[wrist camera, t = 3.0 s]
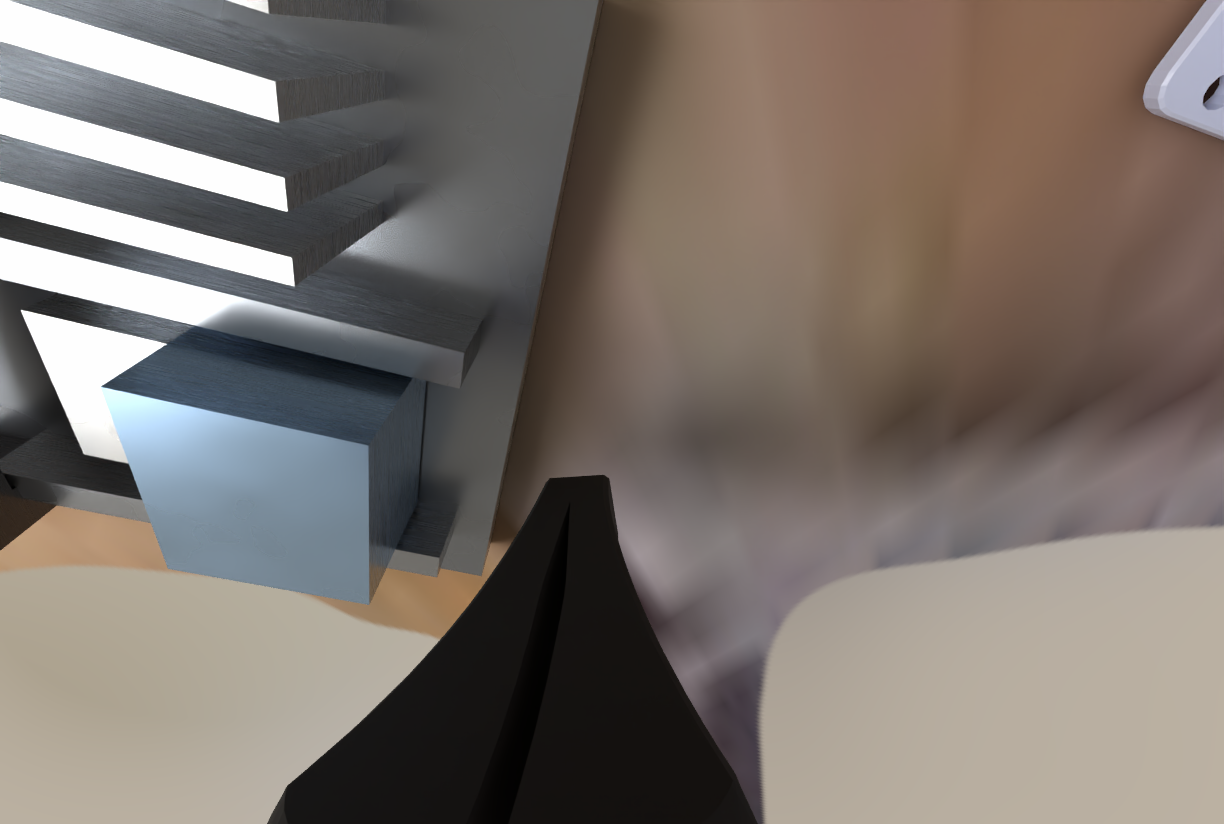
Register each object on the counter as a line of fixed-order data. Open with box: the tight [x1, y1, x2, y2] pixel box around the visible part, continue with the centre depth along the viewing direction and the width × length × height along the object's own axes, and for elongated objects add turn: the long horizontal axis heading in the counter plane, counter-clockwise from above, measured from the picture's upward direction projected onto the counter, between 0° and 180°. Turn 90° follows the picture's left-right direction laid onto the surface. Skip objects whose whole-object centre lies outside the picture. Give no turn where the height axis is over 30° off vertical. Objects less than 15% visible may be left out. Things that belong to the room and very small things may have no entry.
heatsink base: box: [0, 0, 603, 577], centre depth 10 cm, size 14×14×4 cm
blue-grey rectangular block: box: [21, 293, 426, 605], centre depth 10 cm, size 7×5×3 cm, turn 75°
